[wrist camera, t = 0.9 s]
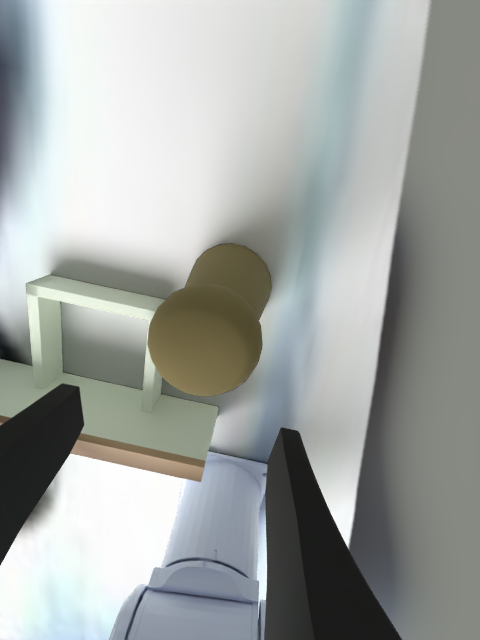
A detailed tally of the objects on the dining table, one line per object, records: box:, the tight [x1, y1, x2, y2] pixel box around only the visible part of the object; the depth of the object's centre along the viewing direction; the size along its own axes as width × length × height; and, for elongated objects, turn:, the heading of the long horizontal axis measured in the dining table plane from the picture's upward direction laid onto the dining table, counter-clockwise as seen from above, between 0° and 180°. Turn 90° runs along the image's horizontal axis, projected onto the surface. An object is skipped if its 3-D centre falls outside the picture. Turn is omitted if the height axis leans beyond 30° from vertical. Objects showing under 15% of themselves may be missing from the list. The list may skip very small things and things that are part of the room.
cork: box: [147, 244, 271, 396], centre depth 18 cm, size 6×6×11 cm
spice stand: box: [0, 275, 219, 482], centre depth 23 cm, size 10×20×7 cm, turn 79°
